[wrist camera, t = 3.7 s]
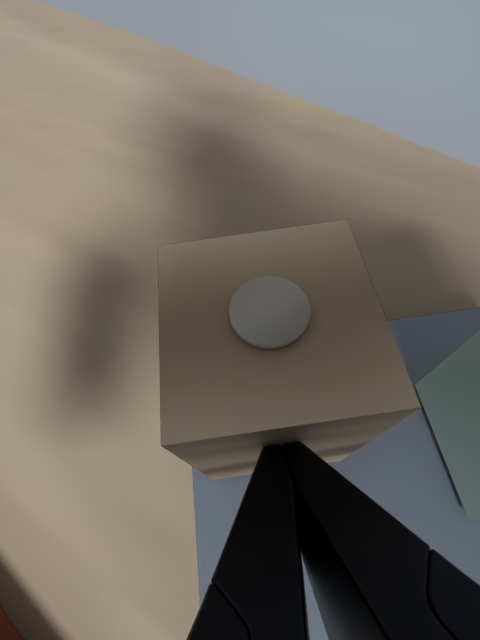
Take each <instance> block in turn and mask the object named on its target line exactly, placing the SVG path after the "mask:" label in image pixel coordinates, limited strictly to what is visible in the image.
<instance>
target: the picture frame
mask: <svg viewBox="0 0 480 640" xmlns="http://www.w3.org/2000/svg"><path fill="white" fill-rule="evenodd" d="M0 640H25V639H24V638H23V637H22V635H21V634H20V633H19V631H18V630H17V629H16V627H15V626H14V624H13V623H12V622H11V620H10V619H9V618H8V616H7V615H6V613H5V612H4V611H3V609H2V608H1V607H0Z"/></svg>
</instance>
